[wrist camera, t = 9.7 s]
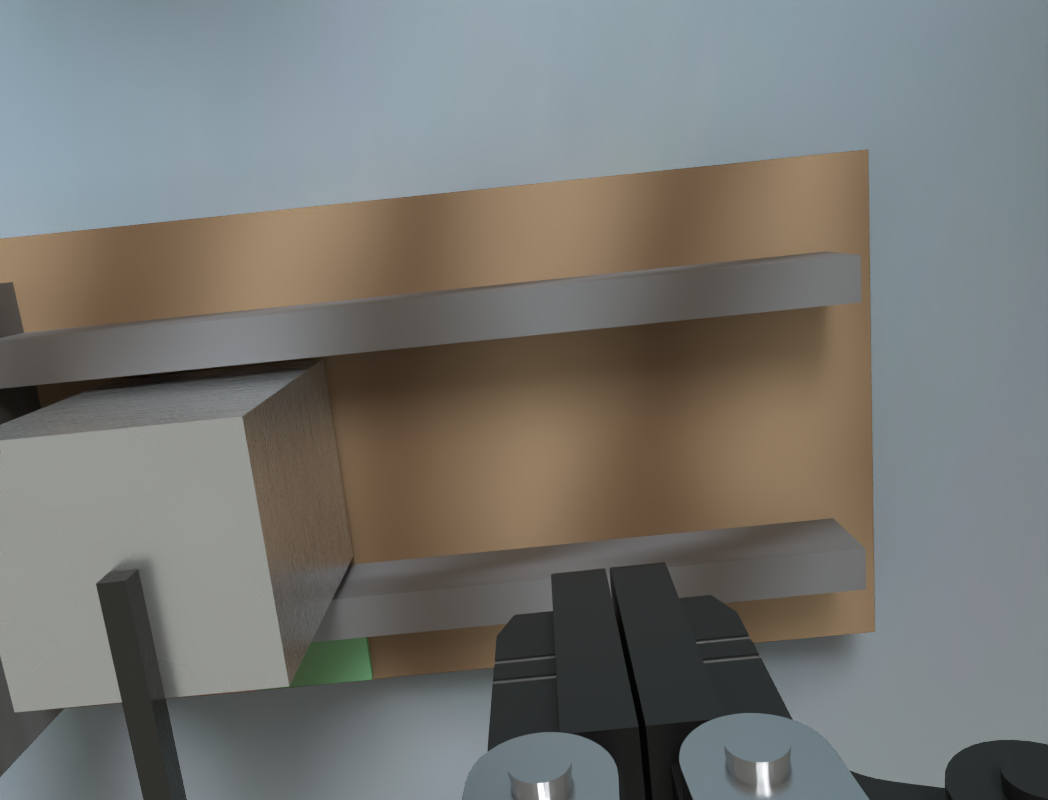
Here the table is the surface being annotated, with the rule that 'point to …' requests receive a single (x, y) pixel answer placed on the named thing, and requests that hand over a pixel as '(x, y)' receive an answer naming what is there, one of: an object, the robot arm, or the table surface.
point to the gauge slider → (168, 544)
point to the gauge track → (518, 389)
